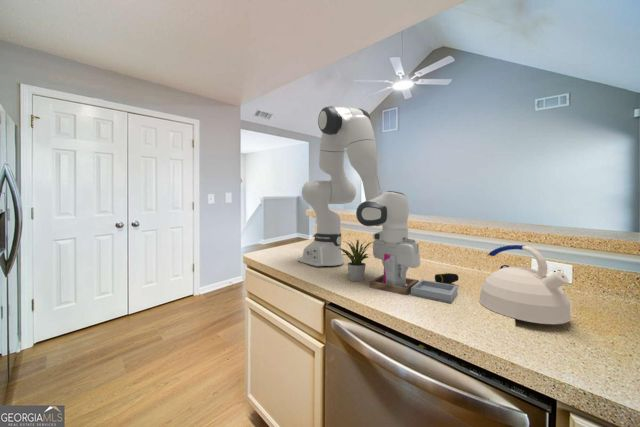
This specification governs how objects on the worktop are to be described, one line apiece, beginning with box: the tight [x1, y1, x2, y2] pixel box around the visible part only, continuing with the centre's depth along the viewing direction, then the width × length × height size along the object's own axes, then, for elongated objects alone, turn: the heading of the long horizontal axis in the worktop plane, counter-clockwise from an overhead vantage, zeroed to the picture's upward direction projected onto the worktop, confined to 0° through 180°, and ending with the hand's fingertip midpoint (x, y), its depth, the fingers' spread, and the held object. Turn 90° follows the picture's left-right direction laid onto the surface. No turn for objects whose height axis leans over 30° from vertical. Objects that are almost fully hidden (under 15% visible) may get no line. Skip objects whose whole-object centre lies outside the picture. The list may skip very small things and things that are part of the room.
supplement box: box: [382, 254, 407, 287], centre depth 91 cm, size 6×6×12 cm
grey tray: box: [410, 279, 459, 304], centre depth 83 cm, size 12×12×2 cm
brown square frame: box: [368, 273, 420, 296], centre depth 91 cm, size 13×13×2 cm
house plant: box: [339, 239, 373, 282], centre depth 100 cm, size 14×14×16 cm
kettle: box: [478, 244, 572, 325], centre depth 72 cm, size 20×21×18 cm
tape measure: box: [434, 272, 459, 284], centre depth 94 cm, size 7×7×4 cm
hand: (394, 274), depth 91 cm, fingers closed on supplement box, 6 cm apart
